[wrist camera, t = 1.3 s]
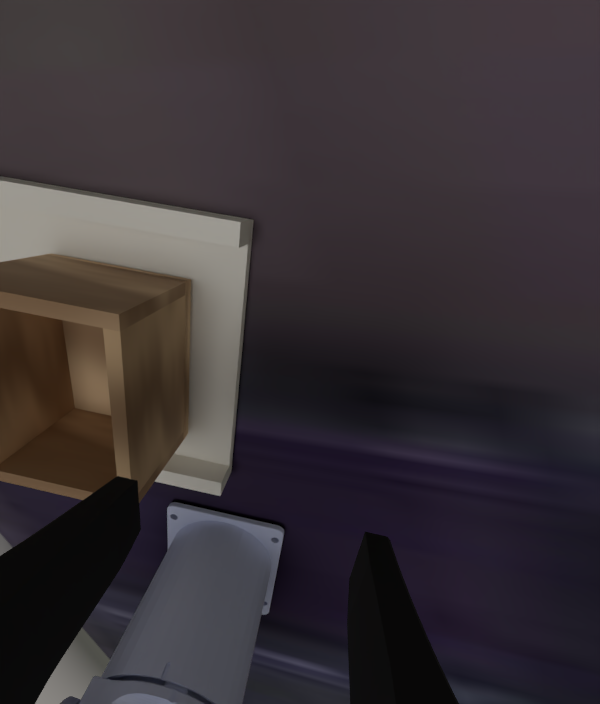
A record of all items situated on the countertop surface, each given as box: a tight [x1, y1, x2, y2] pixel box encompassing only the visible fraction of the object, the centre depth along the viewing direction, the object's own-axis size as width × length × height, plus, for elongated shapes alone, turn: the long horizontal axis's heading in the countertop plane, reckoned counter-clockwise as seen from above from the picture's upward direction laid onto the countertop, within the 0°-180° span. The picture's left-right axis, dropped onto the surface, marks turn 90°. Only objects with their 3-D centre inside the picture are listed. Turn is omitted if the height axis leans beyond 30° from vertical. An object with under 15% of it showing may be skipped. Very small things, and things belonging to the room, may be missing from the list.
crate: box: [0, 254, 191, 503], centre depth 16 cm, size 9×7×6 cm
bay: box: [0, 176, 254, 496], centre depth 18 cm, size 15×20×2 cm
